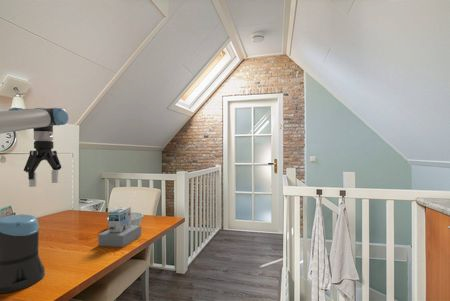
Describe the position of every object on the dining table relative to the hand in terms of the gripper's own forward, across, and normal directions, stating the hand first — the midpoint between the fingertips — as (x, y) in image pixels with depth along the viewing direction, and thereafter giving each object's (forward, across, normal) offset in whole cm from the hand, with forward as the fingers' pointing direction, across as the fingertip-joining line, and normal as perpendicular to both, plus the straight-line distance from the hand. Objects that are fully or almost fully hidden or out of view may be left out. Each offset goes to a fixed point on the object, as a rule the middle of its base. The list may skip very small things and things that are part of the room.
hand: (44, 184), depth 113 cm
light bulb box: (+26, +12, -31) cm, 42 cm away
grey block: (+32, +11, -32) cm, 46 cm away
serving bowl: (+32, +33, -24) cm, 52 cm away
